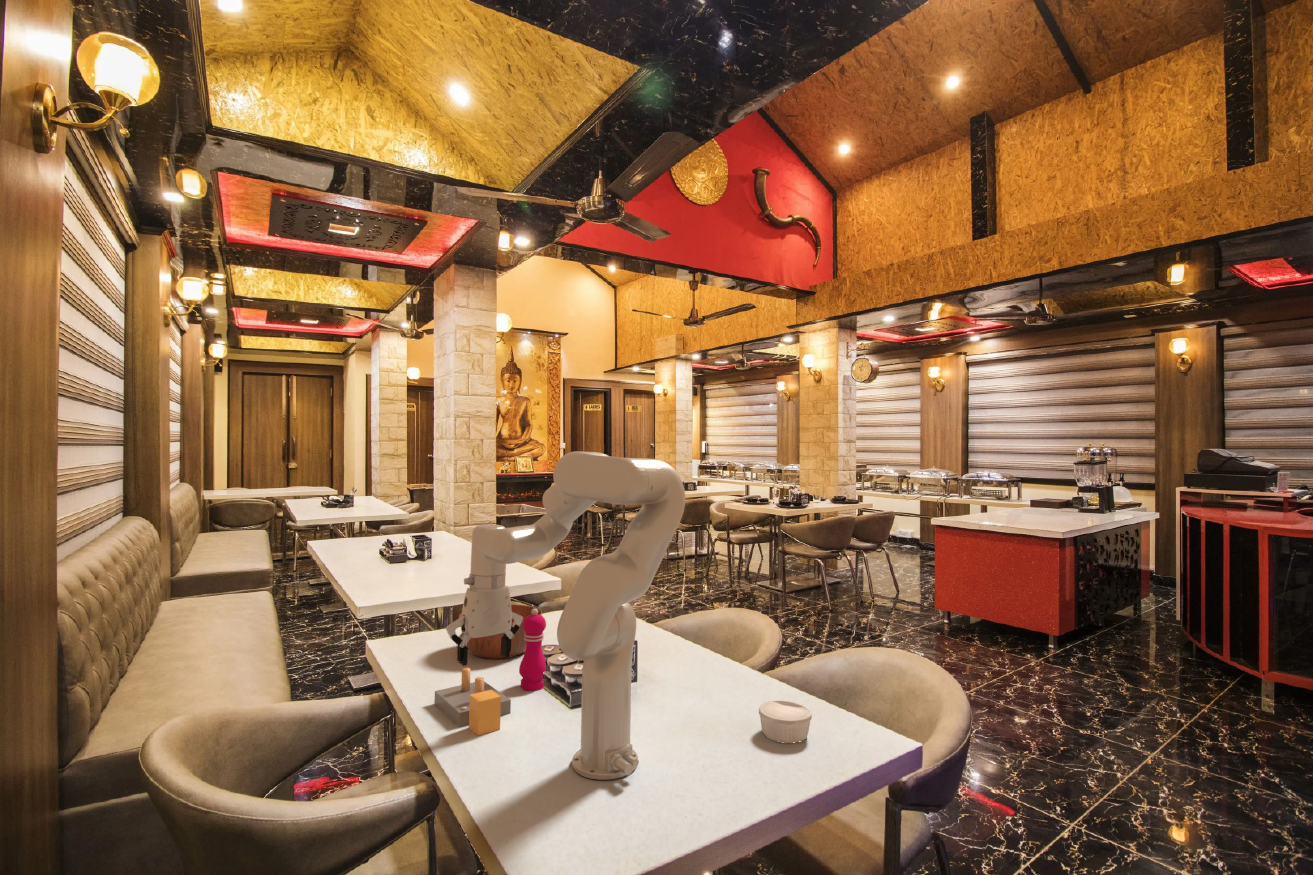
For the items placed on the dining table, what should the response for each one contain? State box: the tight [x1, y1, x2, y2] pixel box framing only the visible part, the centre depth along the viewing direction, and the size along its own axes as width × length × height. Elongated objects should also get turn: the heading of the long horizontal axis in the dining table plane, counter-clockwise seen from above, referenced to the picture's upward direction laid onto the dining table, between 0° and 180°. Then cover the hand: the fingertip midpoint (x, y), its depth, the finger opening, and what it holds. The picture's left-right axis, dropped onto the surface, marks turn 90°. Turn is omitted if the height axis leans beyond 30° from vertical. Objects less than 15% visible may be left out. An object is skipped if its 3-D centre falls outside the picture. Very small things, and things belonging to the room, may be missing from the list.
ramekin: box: [758, 700, 813, 744], centre depth 128 cm, size 11×11×5 cm
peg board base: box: [434, 667, 512, 728], centre depth 140 cm, size 16×12×8 cm
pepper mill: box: [518, 607, 547, 692], centre depth 155 cm, size 7×7×20 cm
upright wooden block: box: [468, 690, 501, 736], centre depth 129 cm, size 5×5×7 cm
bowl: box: [458, 604, 543, 660], centre depth 184 cm, size 25×25×11 cm
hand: (484, 659), depth 130 cm, fingers open, 9 cm apart
